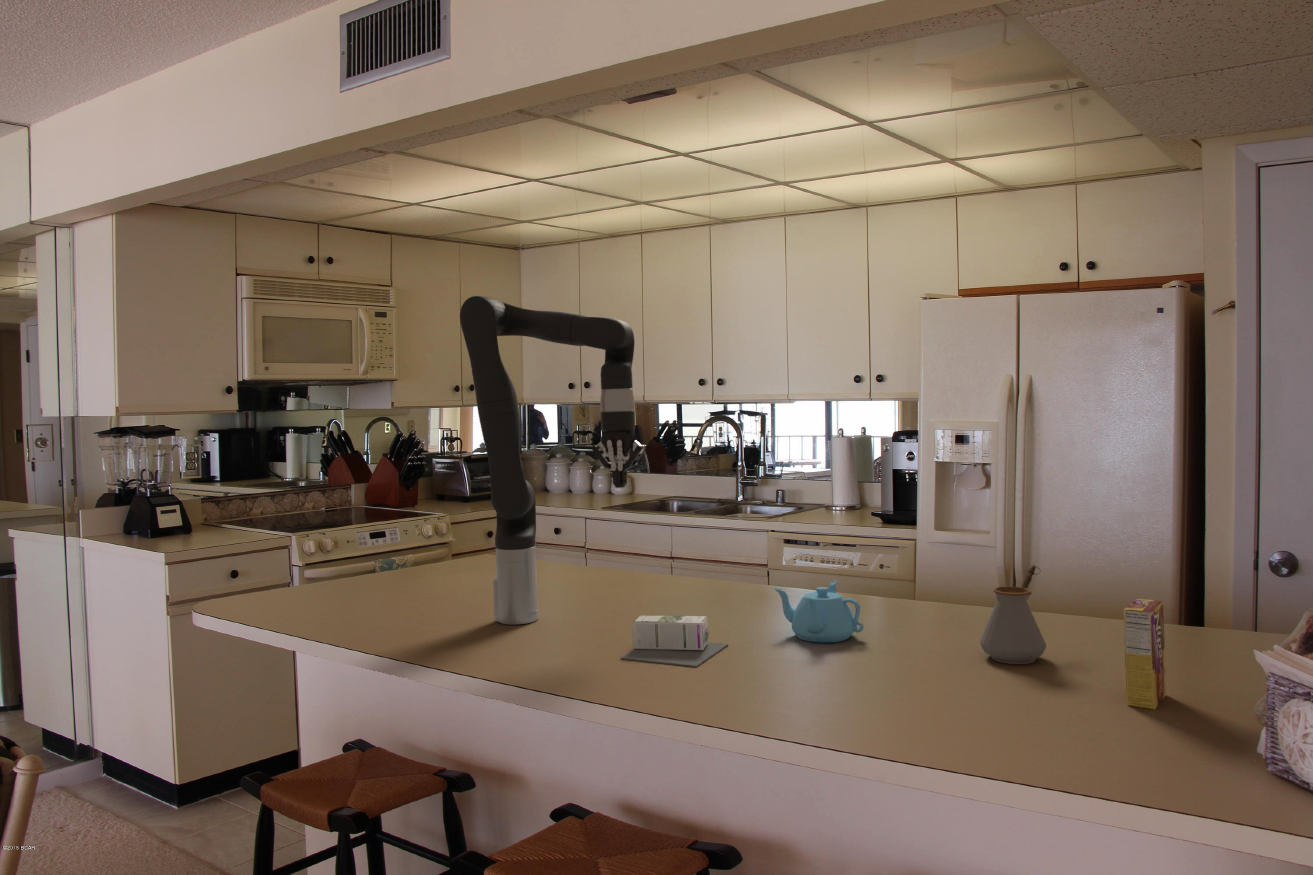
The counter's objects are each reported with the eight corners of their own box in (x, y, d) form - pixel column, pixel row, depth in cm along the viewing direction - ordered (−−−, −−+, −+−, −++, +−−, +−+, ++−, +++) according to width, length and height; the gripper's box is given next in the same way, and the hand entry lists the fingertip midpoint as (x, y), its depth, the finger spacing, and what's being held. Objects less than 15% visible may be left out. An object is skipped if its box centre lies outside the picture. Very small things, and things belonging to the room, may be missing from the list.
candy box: (1137, 690, 147) (1136, 597, 147) (1167, 695, 144) (1166, 600, 144) (1123, 705, 140) (1122, 608, 140) (1154, 710, 138) (1153, 611, 137)
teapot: (873, 641, 182) (872, 591, 182) (807, 650, 177) (806, 598, 177) (836, 625, 196) (834, 578, 196) (773, 633, 191) (772, 584, 191)
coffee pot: (1036, 671, 159) (1035, 586, 158) (971, 661, 166) (969, 580, 165) (1067, 643, 176) (1066, 567, 175) (1006, 635, 183) (1005, 562, 182)
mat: (621, 658, 175) (620, 657, 175) (657, 638, 189) (657, 637, 189) (696, 667, 168) (696, 665, 168) (728, 645, 182) (728, 643, 182)
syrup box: (632, 649, 180) (704, 652, 177) (631, 620, 180) (703, 622, 177) (639, 641, 186) (709, 644, 183) (638, 613, 186) (708, 615, 182)
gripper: (583, 410, 199) (585, 488, 200) (636, 409, 194) (638, 489, 194) (600, 410, 206) (602, 485, 207) (651, 408, 200) (654, 486, 201)
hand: (620, 487), depth 201 cm, fingers closed
